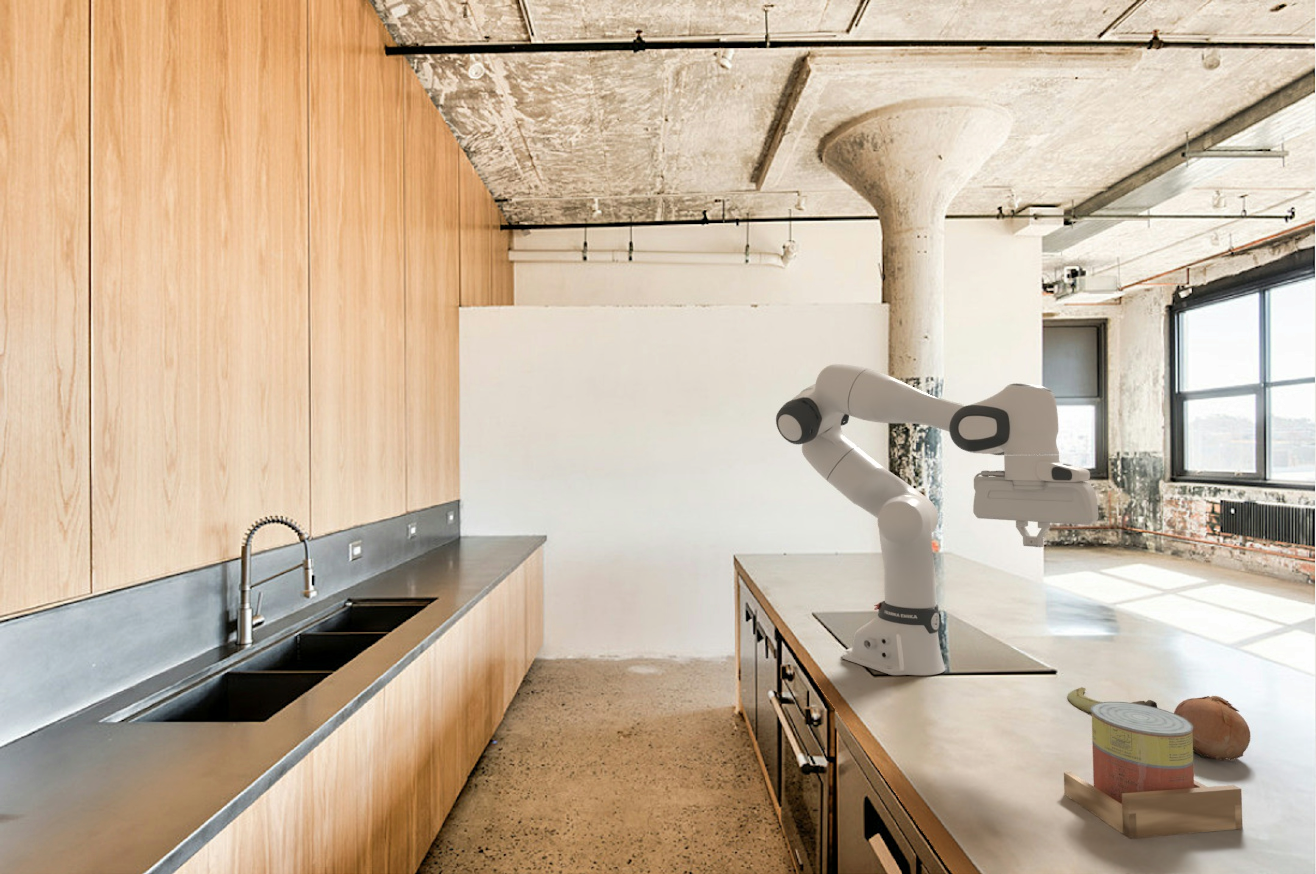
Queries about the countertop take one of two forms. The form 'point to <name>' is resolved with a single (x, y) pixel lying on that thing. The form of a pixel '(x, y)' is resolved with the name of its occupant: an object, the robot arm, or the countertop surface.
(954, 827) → the countertop surface
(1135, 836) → the cradle
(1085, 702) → the claw
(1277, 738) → the countertop surface
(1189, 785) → the canned food
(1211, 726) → the onion
